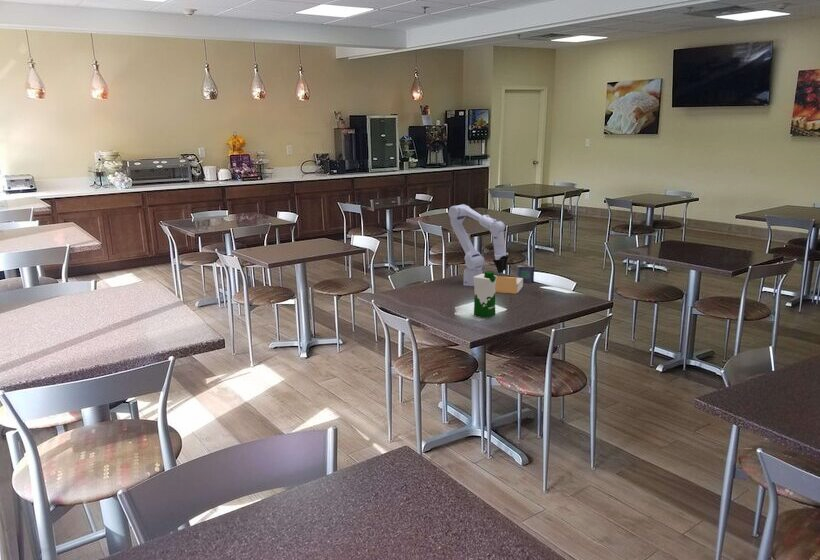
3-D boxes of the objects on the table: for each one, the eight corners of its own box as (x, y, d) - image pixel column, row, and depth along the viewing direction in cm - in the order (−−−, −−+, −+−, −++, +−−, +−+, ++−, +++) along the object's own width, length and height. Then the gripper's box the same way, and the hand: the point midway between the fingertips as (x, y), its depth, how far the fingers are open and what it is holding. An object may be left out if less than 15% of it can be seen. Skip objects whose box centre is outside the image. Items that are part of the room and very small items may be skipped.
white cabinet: (478, 291, 308) (478, 281, 307) (485, 284, 321) (485, 275, 319) (517, 294, 301) (517, 284, 300) (522, 287, 313) (523, 278, 312)
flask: (516, 282, 323) (516, 263, 321) (516, 281, 326) (517, 261, 324) (533, 283, 321) (534, 263, 319) (533, 281, 324) (534, 262, 321)
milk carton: (487, 319, 263) (488, 275, 258) (470, 315, 269) (470, 272, 264) (498, 314, 270) (499, 271, 265) (481, 310, 275) (481, 268, 270)
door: (478, 290, 307) (479, 275, 305) (479, 290, 307) (479, 275, 305) (515, 293, 300) (516, 278, 298) (516, 293, 301) (516, 277, 299)
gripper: (503, 246, 296) (506, 273, 298) (510, 242, 310) (513, 268, 312) (489, 247, 299) (493, 274, 301) (496, 244, 312) (499, 269, 314)
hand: (502, 271), depth 306 cm, fingers open, 7 cm apart
